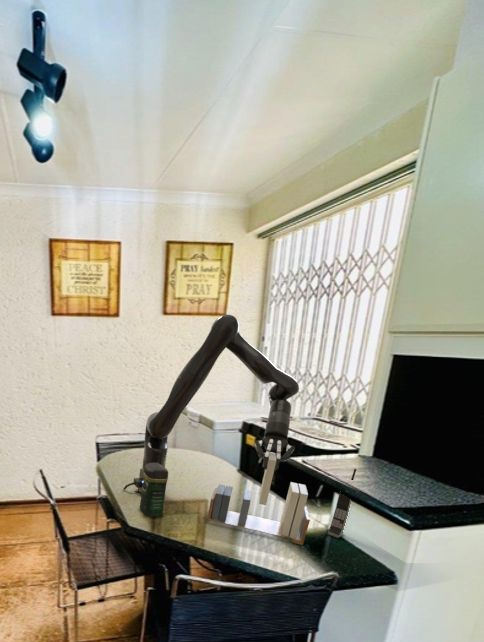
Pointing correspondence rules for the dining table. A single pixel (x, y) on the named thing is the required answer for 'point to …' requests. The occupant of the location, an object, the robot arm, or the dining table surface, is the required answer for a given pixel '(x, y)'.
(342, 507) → the vintage mobile phone
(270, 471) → the white book
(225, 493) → the grey books
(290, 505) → the white books
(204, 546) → the dining table surface
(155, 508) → the coffee jar
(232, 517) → the book shelf
